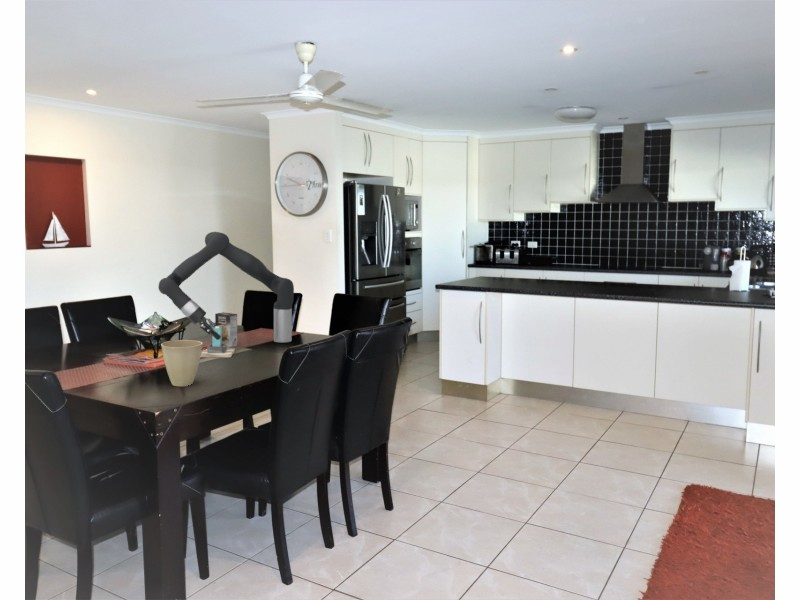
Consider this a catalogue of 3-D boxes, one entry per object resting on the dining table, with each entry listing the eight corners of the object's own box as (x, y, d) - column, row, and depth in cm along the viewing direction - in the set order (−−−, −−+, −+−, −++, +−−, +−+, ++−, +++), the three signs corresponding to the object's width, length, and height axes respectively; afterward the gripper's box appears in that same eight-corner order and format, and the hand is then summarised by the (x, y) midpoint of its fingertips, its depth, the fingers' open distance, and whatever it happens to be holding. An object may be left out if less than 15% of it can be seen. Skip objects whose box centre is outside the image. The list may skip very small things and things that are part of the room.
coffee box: (214, 345, 309) (214, 313, 307) (223, 343, 315) (222, 311, 313) (229, 347, 306) (229, 315, 304) (237, 345, 312) (237, 313, 310)
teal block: (214, 346, 292) (213, 325, 291) (221, 346, 292) (221, 325, 291) (212, 347, 288) (212, 327, 287) (220, 348, 289) (220, 327, 287)
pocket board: (205, 350, 297) (204, 342, 296) (234, 350, 299) (234, 342, 298) (199, 357, 283) (198, 348, 283) (230, 357, 285) (230, 348, 284)
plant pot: (197, 389, 231) (197, 347, 229) (156, 389, 230) (155, 347, 228) (207, 379, 246) (206, 339, 244) (168, 378, 245) (167, 339, 243)
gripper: (195, 308, 280) (223, 335, 283) (202, 303, 294) (228, 329, 297) (183, 319, 280) (211, 346, 283) (190, 314, 294) (217, 340, 297)
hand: (220, 337), depth 290 cm, fingers closed on teal block, 4 cm apart
